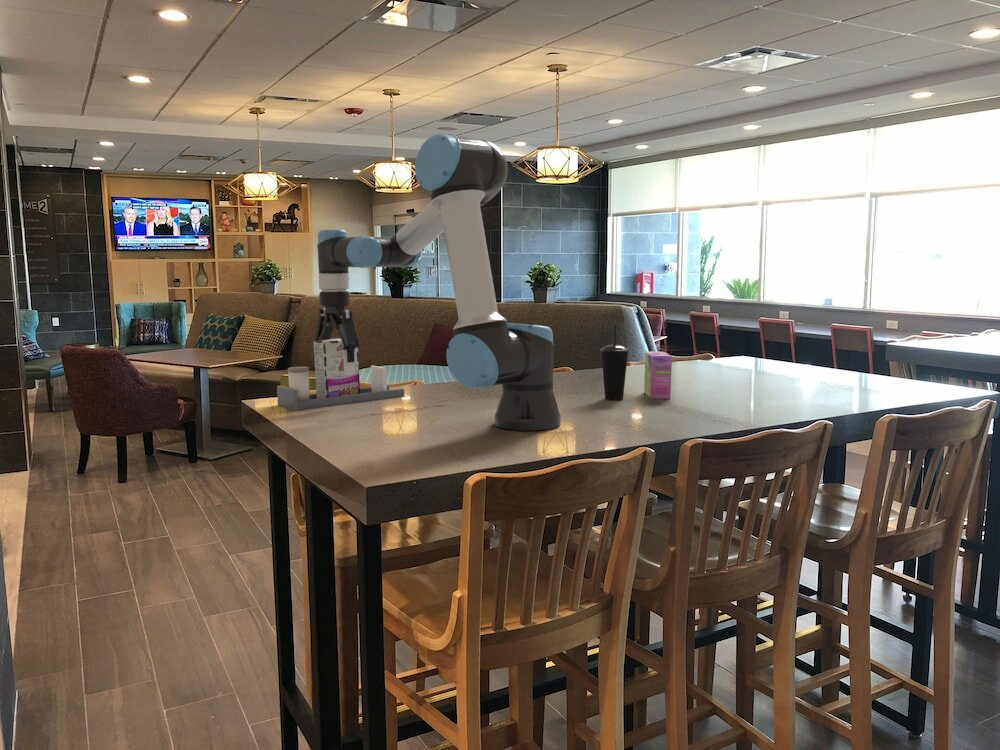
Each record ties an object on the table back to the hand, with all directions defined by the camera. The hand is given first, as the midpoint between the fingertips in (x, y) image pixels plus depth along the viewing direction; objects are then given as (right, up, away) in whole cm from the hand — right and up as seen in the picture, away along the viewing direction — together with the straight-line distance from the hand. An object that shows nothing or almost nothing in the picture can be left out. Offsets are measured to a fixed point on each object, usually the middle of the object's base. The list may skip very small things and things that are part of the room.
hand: (337, 372), depth 207 cm
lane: (+1, -8, +2) cm, 9 cm away
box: (+86, -7, +13) cm, 87 cm away
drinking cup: (+73, -7, +8) cm, 74 cm away
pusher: (+11, -6, +9) cm, 15 cm away
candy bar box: (0, -8, +1) cm, 8 cm away
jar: (-8, -9, -5) cm, 13 cm away
